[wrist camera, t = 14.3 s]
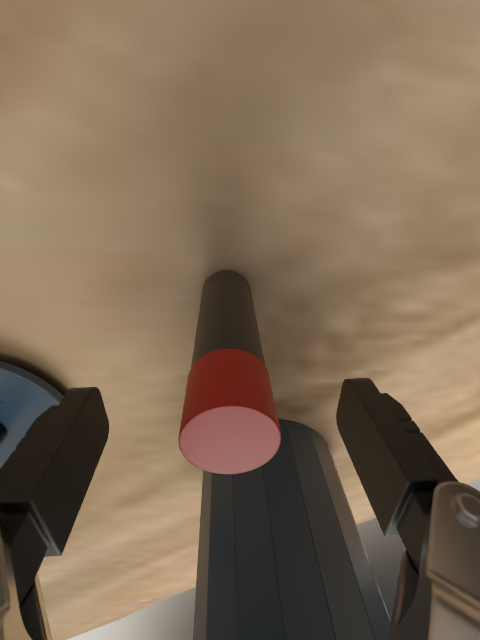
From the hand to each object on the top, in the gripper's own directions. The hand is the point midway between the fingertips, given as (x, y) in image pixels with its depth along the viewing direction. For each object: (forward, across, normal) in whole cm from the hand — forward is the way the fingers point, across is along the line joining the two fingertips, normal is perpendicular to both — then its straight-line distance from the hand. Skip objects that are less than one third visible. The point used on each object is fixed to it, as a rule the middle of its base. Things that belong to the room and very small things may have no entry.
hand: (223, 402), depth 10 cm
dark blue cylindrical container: (+9, -4, +16) cm, 18 cm away
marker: (+9, 0, 0) cm, 9 cm away
